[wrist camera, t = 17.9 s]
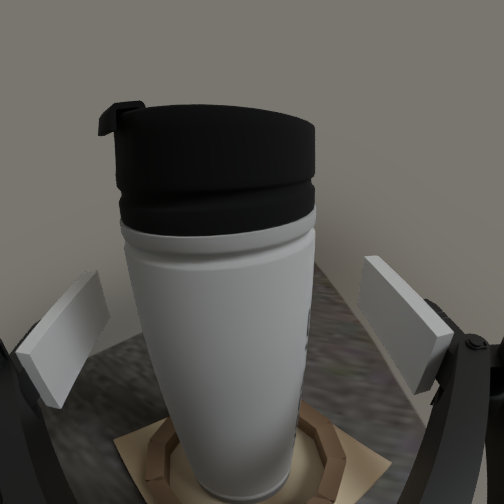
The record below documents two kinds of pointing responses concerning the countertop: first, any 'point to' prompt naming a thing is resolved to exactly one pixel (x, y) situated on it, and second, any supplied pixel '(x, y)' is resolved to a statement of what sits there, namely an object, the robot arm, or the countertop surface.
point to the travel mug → (221, 278)
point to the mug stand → (300, 477)
